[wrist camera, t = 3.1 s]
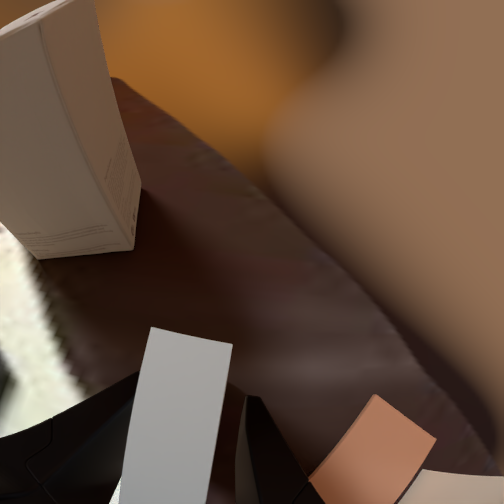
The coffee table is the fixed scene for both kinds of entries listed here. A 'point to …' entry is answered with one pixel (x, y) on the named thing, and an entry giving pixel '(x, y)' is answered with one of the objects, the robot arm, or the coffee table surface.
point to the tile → (373, 458)
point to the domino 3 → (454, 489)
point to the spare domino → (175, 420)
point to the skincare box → (63, 137)
